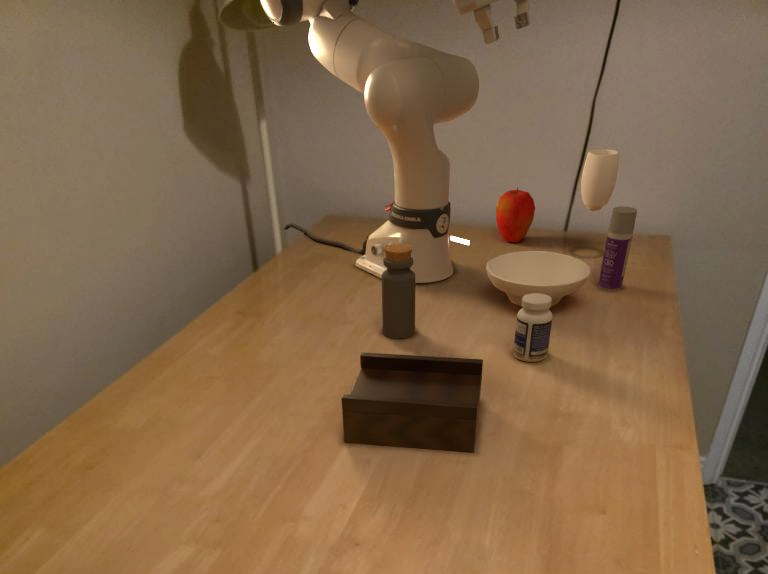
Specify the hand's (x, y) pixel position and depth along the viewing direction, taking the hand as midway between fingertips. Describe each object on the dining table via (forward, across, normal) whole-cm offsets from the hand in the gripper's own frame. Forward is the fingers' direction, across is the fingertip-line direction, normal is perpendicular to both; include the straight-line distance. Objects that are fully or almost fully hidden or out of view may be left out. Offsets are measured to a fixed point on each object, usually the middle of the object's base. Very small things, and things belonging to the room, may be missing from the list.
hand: (508, 34), depth 103 cm
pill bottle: (+44, +20, +6) cm, 49 cm away
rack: (+39, +49, +4) cm, 63 cm away
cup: (+48, -34, -10) cm, 60 cm away
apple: (+43, -32, -28) cm, 60 cm away
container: (+49, -17, +3) cm, 52 cm away
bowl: (+44, -1, -5) cm, 44 cm away
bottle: (+37, +25, -17) cm, 48 cm away
